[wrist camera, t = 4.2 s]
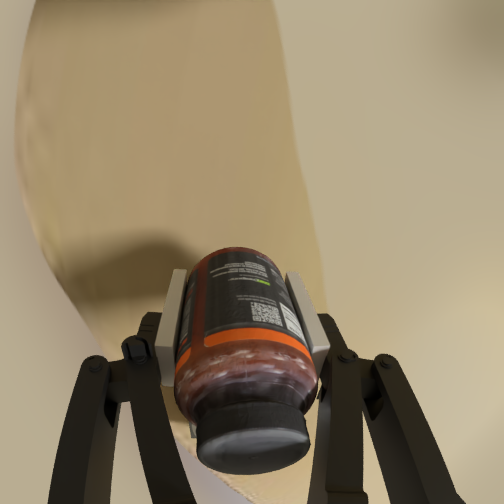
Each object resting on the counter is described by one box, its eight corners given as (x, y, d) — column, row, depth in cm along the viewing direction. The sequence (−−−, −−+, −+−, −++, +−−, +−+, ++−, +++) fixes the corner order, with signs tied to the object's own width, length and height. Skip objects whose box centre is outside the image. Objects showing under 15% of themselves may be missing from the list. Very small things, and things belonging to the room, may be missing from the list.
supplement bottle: (202, 330, 20) (197, 488, 10) (175, 254, 17) (131, 426, 7) (288, 313, 20) (334, 467, 10) (275, 232, 17) (340, 395, 7)
